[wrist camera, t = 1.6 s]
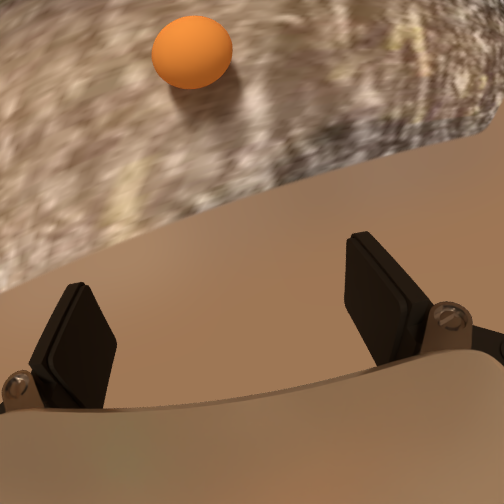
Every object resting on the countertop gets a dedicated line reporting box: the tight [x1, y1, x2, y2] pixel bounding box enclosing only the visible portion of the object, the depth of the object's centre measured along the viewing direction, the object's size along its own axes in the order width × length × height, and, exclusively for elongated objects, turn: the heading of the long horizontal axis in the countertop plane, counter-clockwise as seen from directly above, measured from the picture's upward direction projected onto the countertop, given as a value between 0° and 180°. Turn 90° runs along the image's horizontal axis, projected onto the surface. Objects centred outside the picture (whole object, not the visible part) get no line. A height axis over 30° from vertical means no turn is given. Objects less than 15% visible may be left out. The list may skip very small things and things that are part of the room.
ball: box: [152, 16, 233, 89], centre depth 19 cm, size 6×6×6 cm
